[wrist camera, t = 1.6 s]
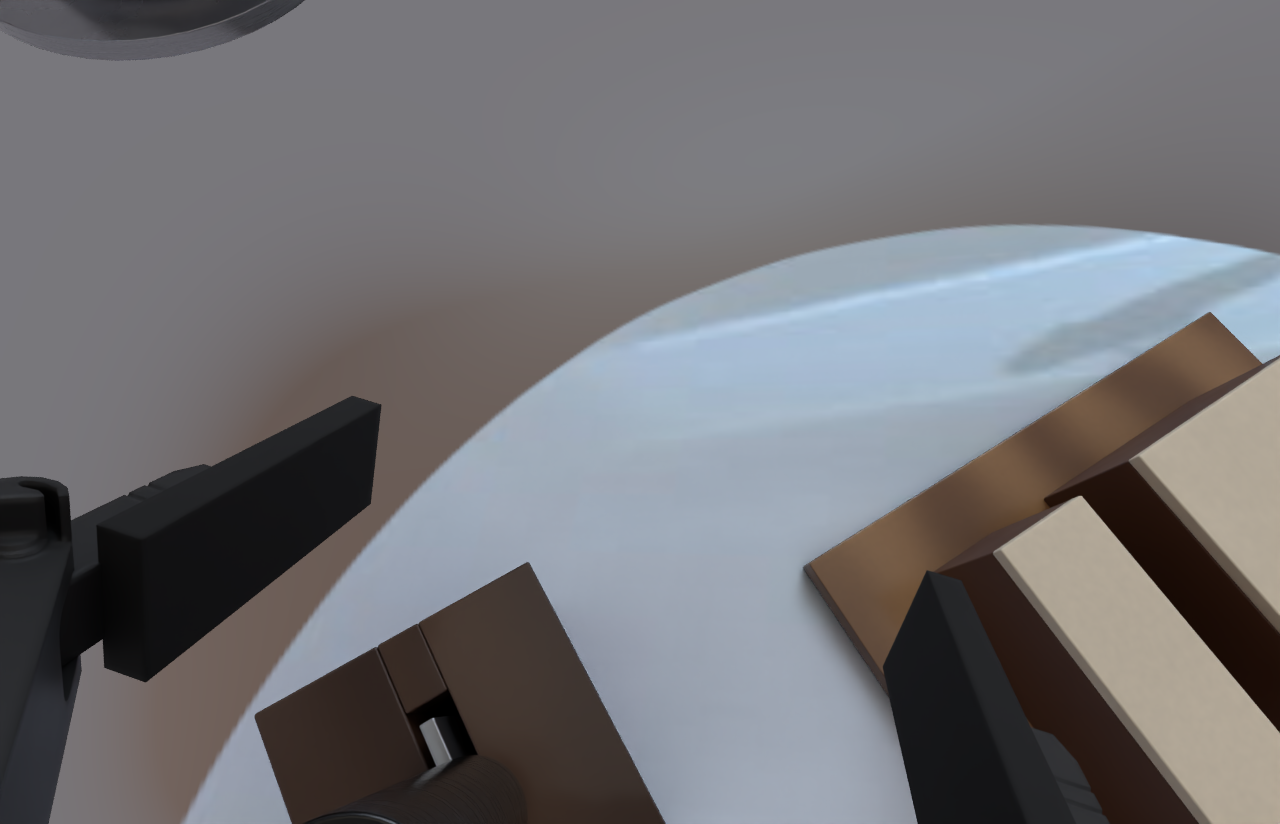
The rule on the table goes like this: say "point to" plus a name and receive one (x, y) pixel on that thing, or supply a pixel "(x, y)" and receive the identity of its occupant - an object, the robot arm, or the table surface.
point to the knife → (443, 788)
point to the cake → (1207, 520)
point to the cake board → (1013, 482)
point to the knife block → (461, 714)
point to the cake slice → (1119, 674)
